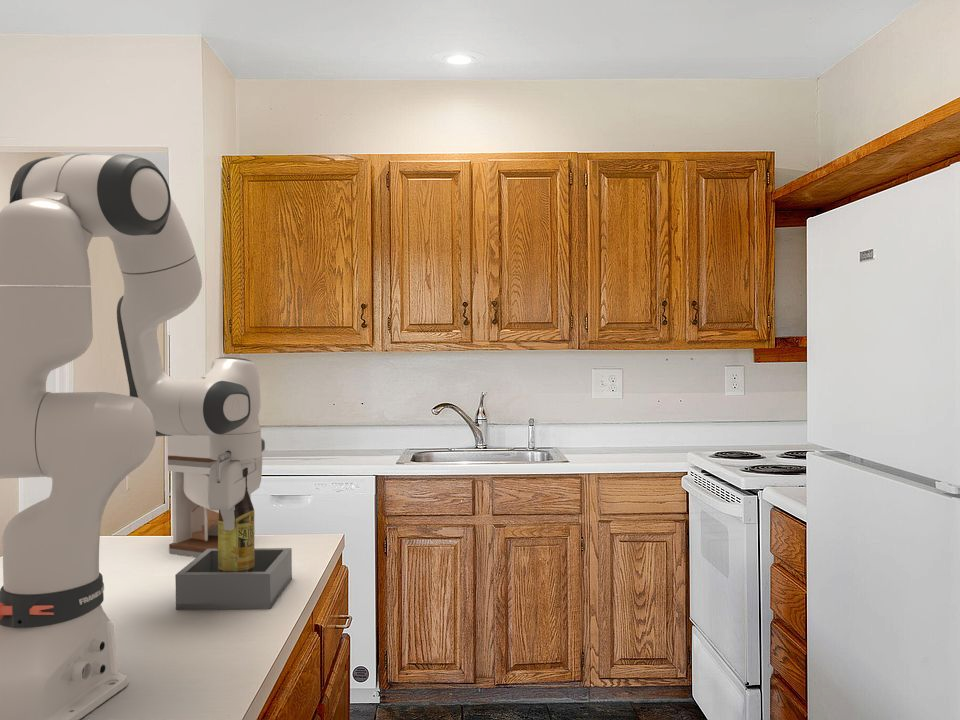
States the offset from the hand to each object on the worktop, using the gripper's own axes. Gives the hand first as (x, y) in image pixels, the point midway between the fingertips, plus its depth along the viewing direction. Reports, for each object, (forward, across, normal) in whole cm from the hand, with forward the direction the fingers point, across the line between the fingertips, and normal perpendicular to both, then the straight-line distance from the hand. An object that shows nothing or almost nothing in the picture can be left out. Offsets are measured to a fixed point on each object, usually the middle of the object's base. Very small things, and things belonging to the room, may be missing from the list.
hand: (236, 524), depth 138 cm
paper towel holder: (+13, +29, +15) cm, 35 cm away
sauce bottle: (+10, 0, 0) cm, 10 cm away
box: (+13, 0, 0) cm, 13 cm away
